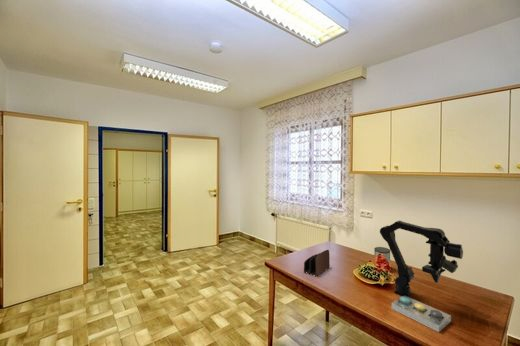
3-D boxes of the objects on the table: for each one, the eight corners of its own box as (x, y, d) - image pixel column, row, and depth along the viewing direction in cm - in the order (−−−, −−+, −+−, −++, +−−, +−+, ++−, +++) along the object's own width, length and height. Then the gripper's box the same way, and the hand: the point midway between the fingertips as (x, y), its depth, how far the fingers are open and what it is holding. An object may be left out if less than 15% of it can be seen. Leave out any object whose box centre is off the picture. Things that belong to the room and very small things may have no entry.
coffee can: (371, 265, 177) (371, 247, 176) (385, 265, 177) (385, 246, 176) (378, 272, 166) (379, 252, 166) (393, 271, 167) (393, 251, 166)
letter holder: (329, 267, 175) (329, 248, 174) (316, 277, 160) (316, 256, 159) (317, 263, 181) (317, 245, 181) (303, 272, 167) (303, 252, 166)
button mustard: (412, 313, 119) (412, 304, 119) (417, 310, 122) (417, 301, 122) (422, 317, 116) (422, 309, 115) (427, 314, 118) (427, 306, 118)
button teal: (398, 306, 125) (398, 298, 125) (402, 303, 128) (402, 295, 128) (407, 310, 121) (407, 302, 121) (411, 307, 124) (412, 299, 124)
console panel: (391, 308, 124) (391, 302, 124) (404, 300, 131) (404, 295, 131) (438, 332, 106) (438, 325, 106) (450, 321, 113) (450, 315, 113)
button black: (428, 320, 114) (428, 312, 113) (432, 317, 116) (432, 308, 116) (439, 326, 110) (439, 317, 110) (444, 322, 112) (444, 313, 112)
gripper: (447, 262, 114) (447, 294, 114) (462, 254, 124) (462, 283, 124) (421, 255, 123) (421, 284, 123) (437, 248, 133) (437, 275, 133)
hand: (436, 282), depth 126 cm, fingers closed
